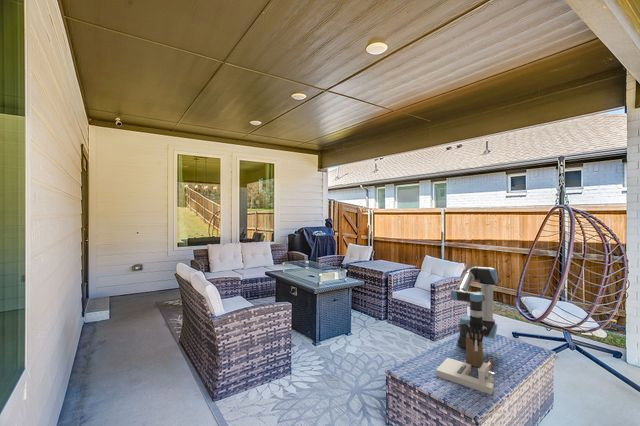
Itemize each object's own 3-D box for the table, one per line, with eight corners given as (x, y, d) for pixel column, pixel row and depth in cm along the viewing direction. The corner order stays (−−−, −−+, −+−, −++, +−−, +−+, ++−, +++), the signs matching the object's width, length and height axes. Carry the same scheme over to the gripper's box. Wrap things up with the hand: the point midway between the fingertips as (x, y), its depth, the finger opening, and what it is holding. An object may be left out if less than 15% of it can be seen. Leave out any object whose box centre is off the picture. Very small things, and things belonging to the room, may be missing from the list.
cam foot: (492, 387, 191) (492, 373, 191) (475, 382, 197) (475, 368, 197) (498, 375, 205) (498, 361, 205) (482, 370, 211) (482, 357, 211)
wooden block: (467, 358, 228) (467, 331, 228) (482, 361, 223) (482, 334, 223) (466, 364, 220) (465, 336, 220) (481, 368, 215) (481, 339, 214)
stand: (447, 363, 222) (447, 347, 222) (499, 379, 201) (499, 361, 201) (436, 375, 206) (436, 358, 206) (491, 394, 184) (491, 375, 184)
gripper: (464, 315, 209) (464, 350, 209) (486, 319, 202) (486, 355, 202) (466, 312, 215) (466, 346, 216) (487, 316, 208) (487, 350, 208)
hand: (476, 350), depth 209 cm, fingers closed
